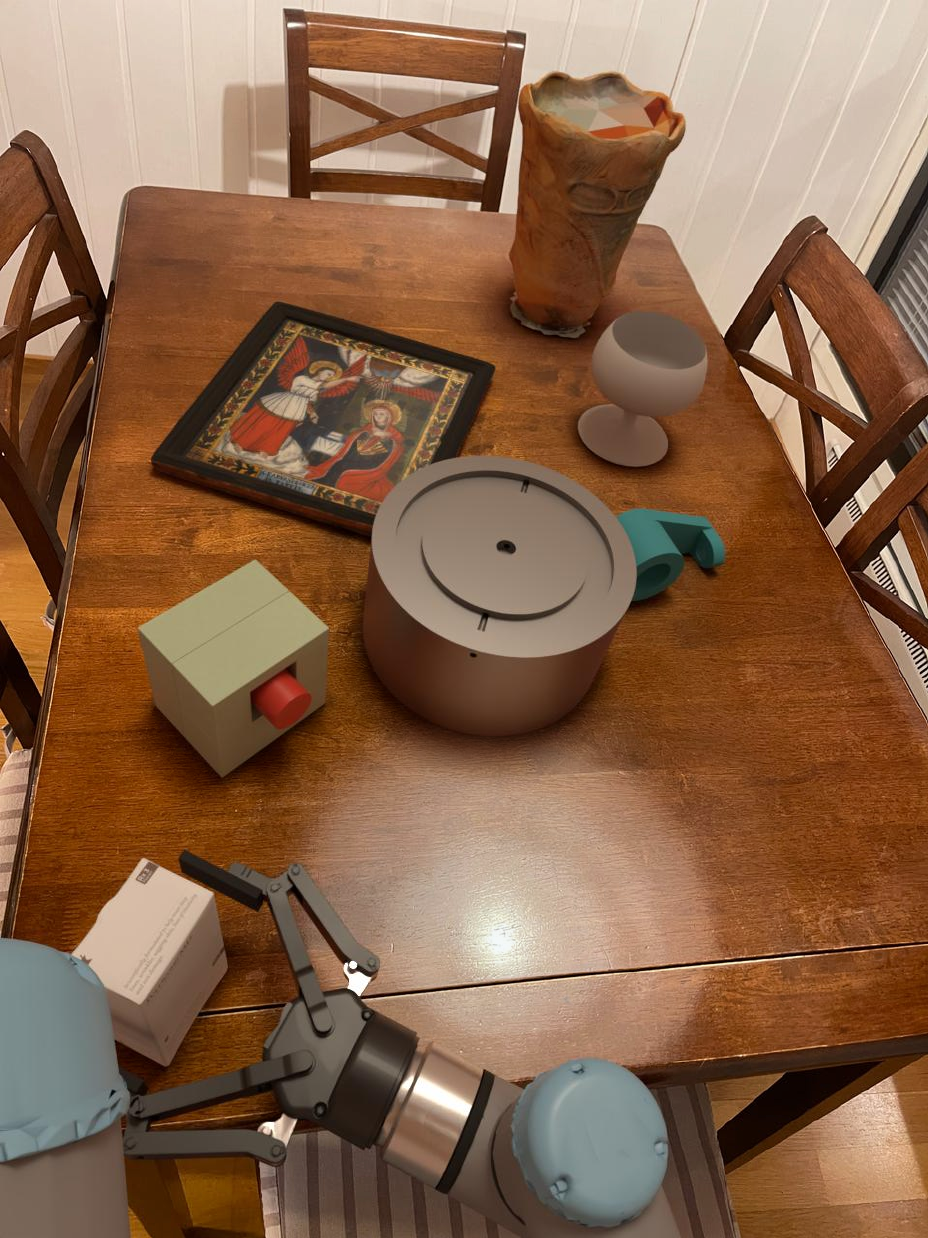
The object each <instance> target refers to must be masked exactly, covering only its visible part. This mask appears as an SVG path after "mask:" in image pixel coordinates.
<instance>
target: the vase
mask: <svg viewBox="0 0 928 1238" xmlns="http://www.w3.org/2000/svg"><path fill="white" fill-rule="evenodd" d="M517 109H518V115H519V120H520V124H521V126H522V127H521V130H522V131H521V132H522V133H521V134H522V135H521V137H522V140H521V151H520V152H521V153H520V159H519V170H518V184H517V187H518V188H517V189H518V190H517V191H518V192H517V200H516V201H517V202H516V203H517V208H516V213H515V214H516V215H515V216H516V217H515V218H516V219H515V234H514V239H513V242H512V245H511V247H510V251H509V253H508V258H509V262H510V263H511V266H512V271H513V285H514V291H515V292H513V295H514V296H511V297H509V299H510V301H512V303H511V304H510V307H509V309H510V312H511V315H512V317H513V318H515V319H517V320H519V321H521V322H520V325H522V326H525V327H527V328H530V329H531V330H534V331H535V330H536V331H540V332H541V333H542V334H543V335H547V336H552V335H557V336H559V337H562V338H572V339H576V338H579V337H580V335H582V334H584V333H585V332H586V329H585V327H587V326H590V325H591V322H589V319H590V318H592V317H593V315H594V313H595V312H596V310H597V309H598V307H599V306H600V304H601V302H602V300H603V299H604V298H605V297H607V296H609V295H610V294H611V293H612V292H613V290H614V287H615V284H616V281H617V272H618V269H619V267H620V264H621V263H622V259H623V256H624V254H625V252H626V249H627V247H628V245H629V243H630V241H631V238H632V237H633V234H634V232H635V230H636V227H637V224H638V220H639V219H640V217H641V216H642V213H643V211H644V209H645V207H646V204H647V202H649V199H650V198H651V196H652V194H653V192H654V190H655V187H656V185H657V182H658V181H659V179H660V178H661V175H662V173H663V170H664V168H665V164H666V161H667V160H668V157H669V156H670V155H671V153H673V152H674V151H675V150H676V149H678V147H679V146H680V144H681V143H682V142H683V139H684V137H685V133H686V131H687V129H686V128H687V126H686V117H685V115H684V114H683V113H682V112H677V111H675V109H674V104H673V102H672V99H671V97H669V96H668V95H667V94H665V93H664V92H660V91H655V90H643V89H642V88H640V87H638V86H636V85H634V84H633V83H632V81H630V80H629V79H628V78H627V77H626V75H624V74H623V73H621V72H618V71H616V70H610V71H602V72H600V73H595V74H593V75H589V76H586V77H584V78H578V77H573V76H571V75H570V74H569V73H566V72H563V71H559V70H552V71H549V72H547V74H545V75H544V76H543V77H541V78H540V79H538V81H537V82H535V83H531V82H530V83H527V84H525V85H523V86H522V88H521V89H520V90H519V95H518V103H517Z"/></svg>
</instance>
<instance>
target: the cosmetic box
mask: <svg viewBox="0 0 928 1238" xmlns="http://www.w3.org/2000/svg"><path fill="white" fill-rule="evenodd" d="M70 954H71V955H73V956H74V957H76V958H78V959H80V960H82V961H83V962H85V963H86V964H87V965H89V966H90V967H91V968H92V969H93V970H94V971H95V973H96V974H97V975H98V977H99V978H100V980H101V981H102V983H103V985H104V987H105V989H106V992H107V995H108V999H109V1006H110V1013H111V1020H112V1027H113V1034H114V1041H116V1042H118V1043H120V1044H122V1045H124V1046H125V1047H128V1048H130V1049H131V1050H134V1051H135V1052H137V1053H139V1054H141V1055H142V1056H145V1057H146V1058H149V1059H150V1060H152V1061H154V1062H155V1063H157V1064H159V1065H161V1066H163V1067H169V1066H171V1062H172V1061H173V1059H174V1058H175V1056H176V1054H177V1052H178V1049H179V1047H180V1046H181V1044H182V1042H183V1041H184V1038H185V1037H186V1035H187V1034H188V1032H189V1030H190V1028H191V1027H192V1025H193V1023H194V1022H195V1020H196V1019H197V1017H198V1016H199V1013H200V1012H201V1010H202V1009H203V1007H204V1006H205V1004H206V1003H207V1002H208V999H209V998H210V996H211V995H212V993H213V992H214V990H215V989H216V987H217V986H218V984H219V983H220V981H221V980H222V979H223V978H224V976H225V975H226V973H227V971H228V968H229V965H228V960H227V954H226V949H225V945H224V939H223V934H222V929H221V924H220V919H219V914H218V909H217V903H216V899H215V892H214V891H211V890H209V889H207V888H205V887H203V886H201V885H199V884H198V883H195V882H193V881H191V880H188V879H186V878H185V877H182V876H180V875H178V874H176V873H174V872H172V871H171V870H168V869H167V868H164V867H162V866H161V865H159V864H157V863H155V862H153V861H151V860H149V859H148V858H145V857H143V858H140V861H139V862H138V863H137V865H136V867H135V868H134V869H133V870H132V871H131V873H130V874H129V876H128V877H127V878H126V880H125V882H123V884H122V886H121V887H120V888H119V890H118V891H117V893H115V896H113V897H112V898H111V899H110V900H108V901H107V902H106V904H105V905H104V906H103V907H102V909H101V910H100V911H99V913H98V915H97V917H96V921H95V923H94V924H93V925H92V927H91V928H90V930H89V931H88V932H87V934H86V935H85V936H84V938H83V939H82V940H81V942H80V943H79V944H78V945H77V947H76V948H75V949H74V950H73V951H72V952H71V953H70Z"/></svg>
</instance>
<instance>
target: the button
mask: <svg viewBox="0 0 928 1238" xmlns="http://www.w3.org/2000/svg"><path fill="white" fill-rule="evenodd" d="M250 700H251V703H252V704H253V705H254V706H255V707H256V708H257V709H258V710H259V711H260V712H261V713H262V714H263V715H264V717H265V718H266V719H267V720H268V721H269V722H270V723H271V724H272V725H273V726H274V727H275V728H276V729H285V728H287V727H289V726H291V725H292V724H294V723H295V722H296V721H297V720H299V719H300V718H301V717H302V716H303V714H304V713H305V712H306V711H307V709H308V708H309V706H310V704H311V701H312V696H311V694H310V693H309V692H308V691H307V690H306V689H305V688H304V687H303V686H302V685H301V684H300V683H299V682H298V681H297V680H296V679H295V678H294V677H293V676H292V675H290V674H289V673H288V672H287V671H286V670H285V669H283V670H282V671H280V672H279V673H277V674H276V675H275V676H273V677H272V678H270V679H269V680H267V681H266V682H264V683H263V684H261V685H260V686H258V687H257V688H255V689H254V690H252V691H251V692H250Z"/></svg>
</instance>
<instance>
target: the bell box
mask: <svg viewBox="0 0 928 1238" xmlns="http://www.w3.org/2000/svg"><path fill="white" fill-rule="evenodd" d="M137 632H138V636H139V641H140V645H141V650H142V653H143V654H142V655H143V658H144V663H145V667H146V672H147V675H148V679H149V684H150V689H151V693H152V698H153V702H154V705H155V707H156V708H157V710H159V711H160V712H161V714H163V716H164V717H165V718H166V719H167V720H168V721H169V723H170V724H172V725H173V727H174V728H175V729H176V730H177V731H178V732H179V733H180V734H181V735H182V736H183V737H184V738H185V740H186V741H187V742H188V743H189V744H190V745H191V746H192V747H193V749H194V750H196V752H197V753H198V754H199V755H200V756H201V757H202V758H203V759H204V760H205V761H206V762H207V764H208V765H209V766H210V767H211V768H212V769H213V770H214V771H215V772H216V773H217V774H218V775H219V776H220V778H221V779H223V778H224V777H225V776H227V775H229V773H231V772H232V771H234V770H235V769H236V768H238V767H239V766H240V765H242V764H243V763H245V762H246V761H248V760H249V759H250V758H252V757H253V756H254V755H256V754H257V753H258V752H260V751H261V750H263V749H264V748H265V747H267V746H269V745H270V744H271V743H272V742H274V741H275V740H276V739H278V738H279V737H281V736H282V735H283V734H285V733H286V732H287V731H289V730H290V729H292V728H293V727H294V726H296V725H298V724H299V723H300V722H301V721H302V720H304V719H306V718H307V717H308V716H309V715H311V714H312V713H314V712H315V711H316V710H318V709H320V708H321V707H322V706H324V705H325V704H326V703H327V702H326V701H327V700H326V699H327V680H328V661H329V658H328V657H329V656H328V655H329V639H330V627H329V626H328V625H327V624H326V623H325V622H323V620H321V619H320V618H319V617H318V616H317V615H316V614H315V613H314V612H313V611H311V610H310V609H309V608H308V607H307V606H306V605H305V604H304V603H303V602H302V601H301V600H300V599H299V598H298V597H296V595H294V594H293V592H291V591H290V590H289V589H288V588H287V587H286V586H285V585H284V584H282V582H281V581H279V579H277V578H276V576H274V575H273V574H272V573H271V572H270V571H269V570H268V569H267V568H265V567H264V565H262V564H261V562H259V561H258V560H257V559H253V560H250V562H248V563H246V564H245V565H243V566H241V567H239V568H238V569H236V570H234V571H232V572H231V573H229V574H228V575H226V576H224V577H222V578H220V579H219V580H217V581H215V582H213V583H212V584H210V585H208V586H207V587H205V588H203V589H201V590H200V591H198V592H197V593H194V594H193V595H191V596H190V597H188V598H186V599H184V600H183V601H180V602H179V603H177V604H176V605H174V606H172V607H170V608H169V609H167V610H165V611H164V612H161V613H160V614H158V615H157V616H155V617H153V618H152V619H150V620H148V621H147V622H145V623H143V624H141V625H140V626H138V627H137ZM283 669H285V670H286V671H287V672H288V673H289V674H290V675H292V676H293V677H294V678H295V679H296V680H297V681H298V682H299V683H300V684H301V685H302V686H303V687H304V688H305V689H306V690H307V691H308V692H309V693H310V694H311V696H312V701H311V704H310V706H309V708H308V709H307V711H306V712H305V713H304V714H303V716H302V717H301V718H300V719H299V720H297V721H296V722H295V723H294V724H292V725H291V726H289V727H287V728H285V729H276V728H275V727H274V726H273V725H272V724H271V723H270V722H269V721H268V720H267V719H266V718H265V717H264V715H263V714H262V713H261V712H260V711H259V710H258V709H257V708H256V707H255V706H254V705H253V704H252V703H251V700H250V692H251V691H252V690H254V689H255V688H257V687H258V686H260V685H261V684H263V683H264V682H266V681H267V680H269V679H270V678H272V677H273V676H275V675H276V674H277V673H279V672H280V671H282V670H283Z"/></svg>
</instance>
